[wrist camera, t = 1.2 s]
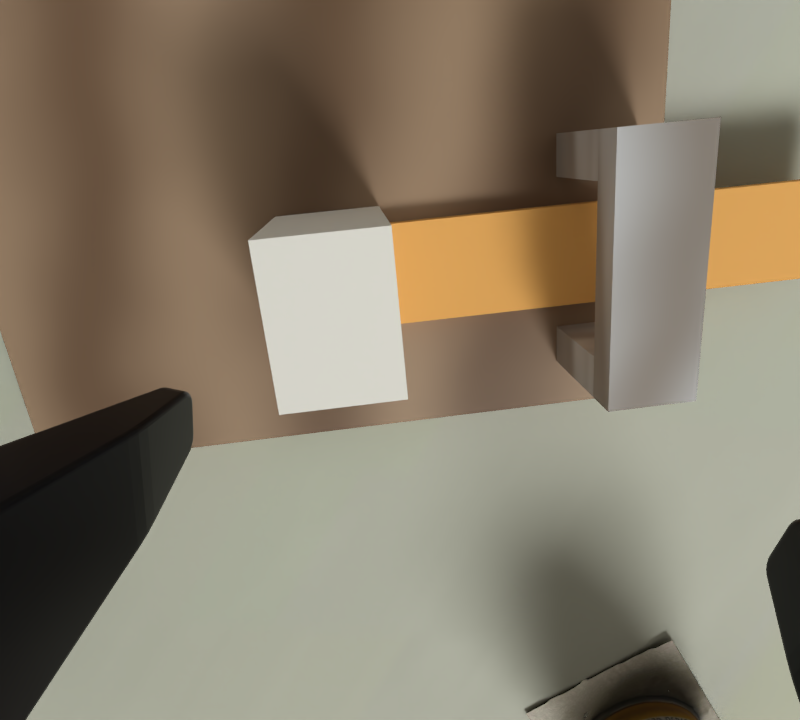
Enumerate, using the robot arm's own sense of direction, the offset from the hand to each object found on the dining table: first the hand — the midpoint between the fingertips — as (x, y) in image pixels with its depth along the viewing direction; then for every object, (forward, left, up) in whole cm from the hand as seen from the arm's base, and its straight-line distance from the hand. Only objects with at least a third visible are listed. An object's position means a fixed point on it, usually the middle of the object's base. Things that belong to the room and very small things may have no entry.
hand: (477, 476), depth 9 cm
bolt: (+4, +1, -10) cm, 11 cm away
